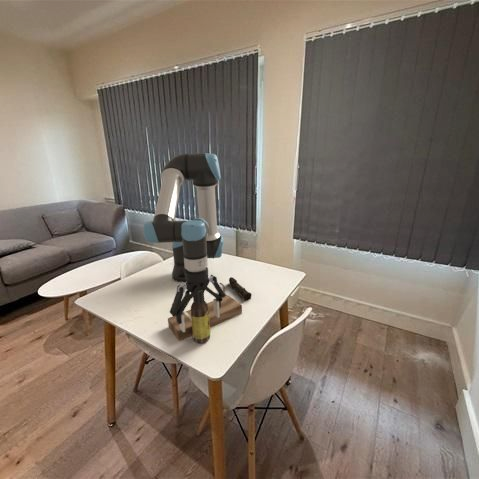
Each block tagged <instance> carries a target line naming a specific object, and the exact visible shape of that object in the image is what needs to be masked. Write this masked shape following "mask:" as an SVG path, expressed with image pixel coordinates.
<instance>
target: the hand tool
mask: <svg viewBox="0 0 479 479" xmlns="http://www.w3.org/2000/svg"><path fill="white" fill-rule="evenodd" d="M228 282H229V285H230V288H231V289H232V290H233V289H234V290H235V291H236V293H238V295H239V296H241V297H242V298H243V301H244V302H247V301H249V300H251V299H252V292H249V291H248V290H247V289H246V288H245V287H243V286H242V285H240V284H239V283H238V280H237V279H236V278H234V277H232V276H231V277H229V278H228Z"/></svg>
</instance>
